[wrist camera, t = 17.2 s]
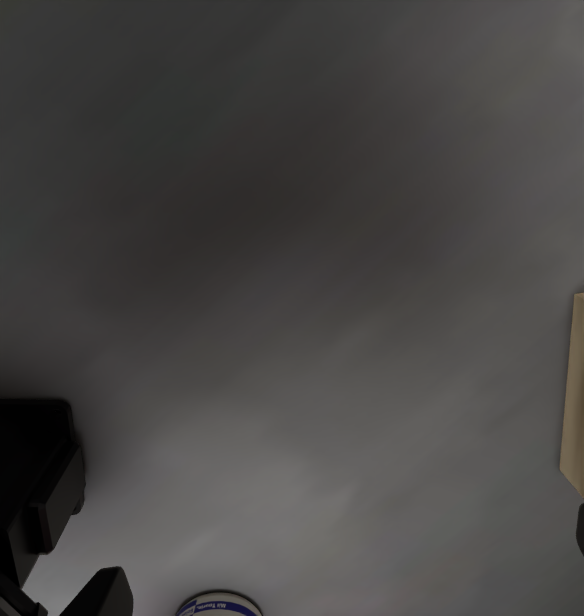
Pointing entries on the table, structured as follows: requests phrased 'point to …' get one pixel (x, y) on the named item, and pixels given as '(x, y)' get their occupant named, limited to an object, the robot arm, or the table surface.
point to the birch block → (575, 403)
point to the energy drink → (219, 606)
